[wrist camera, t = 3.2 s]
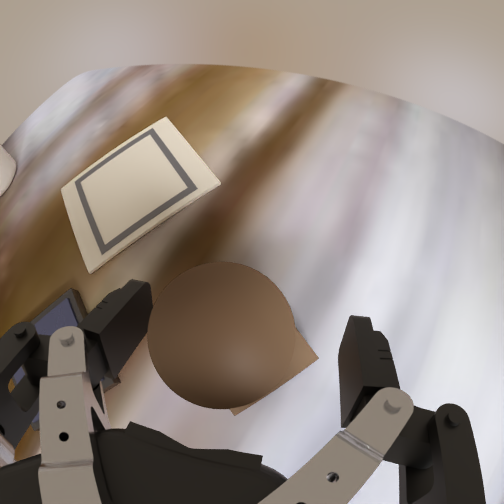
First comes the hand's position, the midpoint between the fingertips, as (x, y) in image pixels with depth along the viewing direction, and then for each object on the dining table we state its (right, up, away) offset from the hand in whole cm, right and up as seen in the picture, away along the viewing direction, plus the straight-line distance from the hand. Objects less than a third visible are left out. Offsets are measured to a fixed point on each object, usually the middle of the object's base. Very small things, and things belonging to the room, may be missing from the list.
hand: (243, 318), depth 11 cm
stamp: (0, -3, +5) cm, 6 cm away
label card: (-9, +8, +9) cm, 15 cm away
